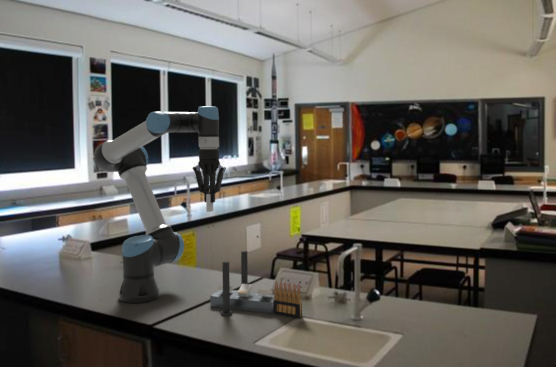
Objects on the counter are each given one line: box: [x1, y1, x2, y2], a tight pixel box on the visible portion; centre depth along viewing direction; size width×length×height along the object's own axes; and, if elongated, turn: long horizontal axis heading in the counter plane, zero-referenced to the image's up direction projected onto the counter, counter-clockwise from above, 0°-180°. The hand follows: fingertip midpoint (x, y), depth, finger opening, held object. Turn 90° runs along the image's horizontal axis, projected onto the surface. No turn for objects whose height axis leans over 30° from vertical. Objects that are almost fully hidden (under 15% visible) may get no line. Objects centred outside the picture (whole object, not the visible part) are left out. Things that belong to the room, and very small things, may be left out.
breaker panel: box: [209, 289, 274, 315], centre depth 199 cm, size 24×9×4 cm, turn 71°
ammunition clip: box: [272, 280, 303, 320], centre depth 189 cm, size 11×2×12 cm, turn 62°
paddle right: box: [257, 288, 273, 296], centre depth 196 cm, size 4×5×2 cm
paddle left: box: [217, 284, 233, 291], centre depth 202 cm, size 4×5×2 cm
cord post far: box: [240, 250, 249, 286], centre depth 206 cm, size 4×4×19 cm
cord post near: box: [220, 260, 233, 317], centre depth 190 cm, size 4×4×19 cm
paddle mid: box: [237, 283, 253, 297], centre depth 199 cm, size 4×5×2 cm
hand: (209, 211), depth 203 cm, fingers closed
